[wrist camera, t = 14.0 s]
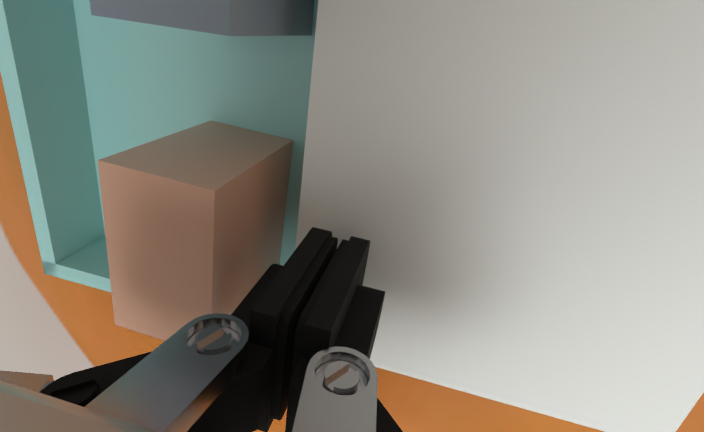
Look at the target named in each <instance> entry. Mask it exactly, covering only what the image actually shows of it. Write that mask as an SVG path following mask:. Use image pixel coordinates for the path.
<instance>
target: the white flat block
mask: <svg viewBox="0 0 704 432" xmlns="http://www.w3.org/2000/svg"><path fill="white" fill-rule="evenodd" d="M312 227H315V228H319V229H324V230H328V231H332V237H336V238H338V244H337V248H338V247H339V245H340V243H341V241H342V240H343V239H344V240H348V241H349V239H350V237H351V236H353V237H358V238H362V239H366V240H370V247H369V253H368V258H367V264H366V269H365V275H364V280H363V286H366V287H370V288H374V289H378V290H382V291H385V297H384V302H383V306H382V311H381V316H380V320H379V325H378V329H377V333H376V337H375V341H374V345H373V349H372V353H371V356H370V360H371V361H372V363H373V365H374V366H375V367H378V368H381V369H385V370H388V371H392V372H396V373H399V374H403V375H406V376H410V377H413V378H417V379H420V380H424V381H428V382H431V383H435V384H438V385H442V386H445V387H449V388H452V389H456V390H459V391H463V392H467V393H470V394H474V395H477V396H481V397H484V398H488V399H491V400H495V401H499V402H502V403H506V404H509V405H513V406H516V407H520V408H523V409H527V410H530V411H534V412H538V413H541V414H545V415H548V416H552V417H555V418H559V419H562V420H566V421H570V422H573V423H577V424H580V425H584V426H587V427H591V428H594V429H598V430H601V431H605V432H676V430H677V429H678V428H679V426H680V425H681V423H682V422H683V420H684V419H685V418H686V416H687V415H688V413H689V412H690V411H691V409H692V408H693V406H694V405H695V404H696V402H697V401H698V399H699V398H700V397H701V395H702V394H703V392H704V0H318V9H317V20H316V31H315V42H314V53H313V63H312V74H311V85H310V96H309V107H308V118H307V128H306V139H305V150H304V161H303V172H302V182H301V193H300V204H299V215H298V226H297V236H296V247H295V250H296V248H297V247H298V246H299V244H300V243H301V242H302V240H303V239H304V238H305V236H306V235H307V234H308V232H309V231H310V230H311V228H312Z"/></svg>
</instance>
